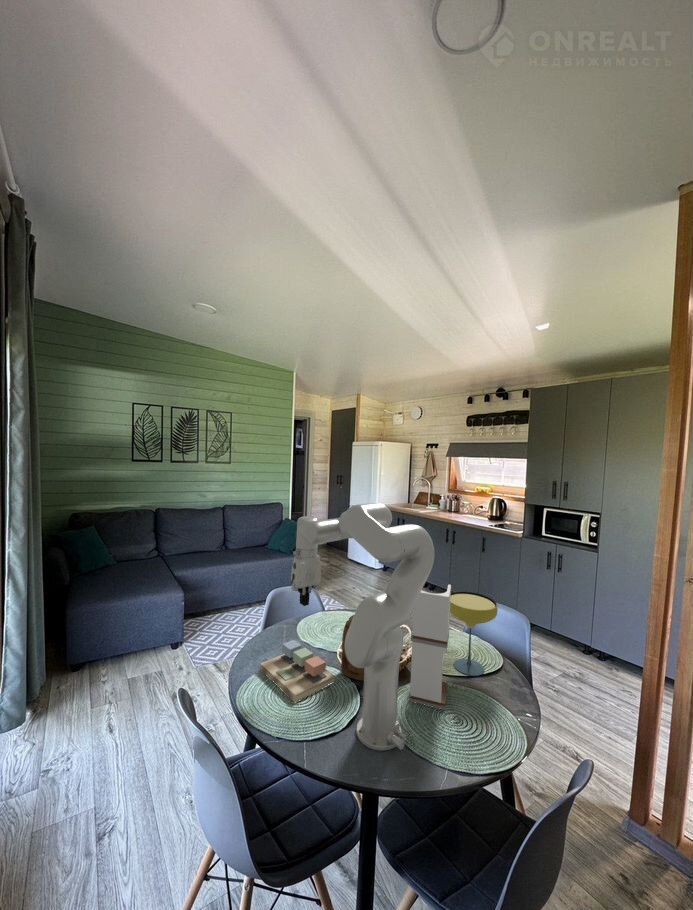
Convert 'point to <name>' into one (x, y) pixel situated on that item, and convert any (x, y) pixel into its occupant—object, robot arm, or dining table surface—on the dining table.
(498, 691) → the dining table surface
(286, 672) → the wooden sorting board
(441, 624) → the white square pillar
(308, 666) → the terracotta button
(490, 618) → the cocktail glass
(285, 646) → the grey square block
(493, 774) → the dining table surface
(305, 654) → the sage button
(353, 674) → the dark brown curved piece
